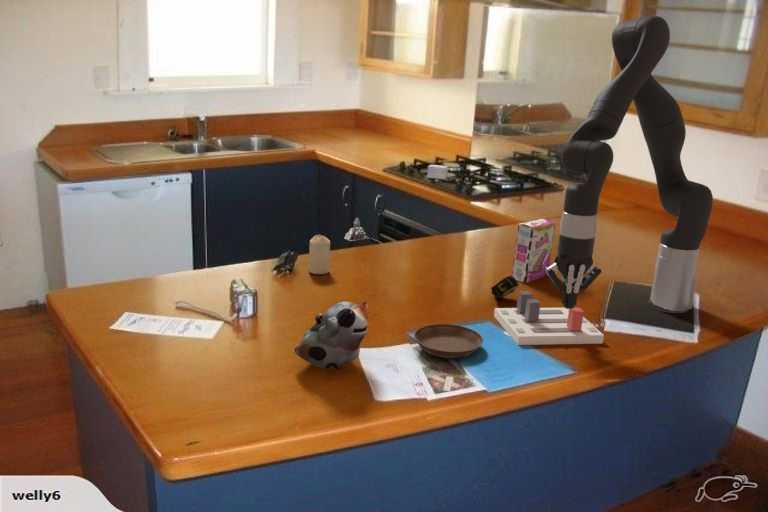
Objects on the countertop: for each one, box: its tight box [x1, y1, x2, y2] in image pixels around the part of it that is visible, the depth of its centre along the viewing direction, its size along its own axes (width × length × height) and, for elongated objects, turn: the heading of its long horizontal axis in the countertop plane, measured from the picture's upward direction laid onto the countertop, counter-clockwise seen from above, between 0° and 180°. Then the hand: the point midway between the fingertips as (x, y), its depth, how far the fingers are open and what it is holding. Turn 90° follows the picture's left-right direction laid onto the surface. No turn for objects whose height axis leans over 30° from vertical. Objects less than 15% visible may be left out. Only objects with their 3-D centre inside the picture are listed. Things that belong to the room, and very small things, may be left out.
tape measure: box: [490, 275, 519, 300], centre depth 191 cm, size 7×7×4 cm
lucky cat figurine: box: [294, 300, 370, 371], centre depth 152 cm, size 15×12×14 cm
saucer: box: [413, 323, 484, 359], centre depth 163 cm, size 15×15×3 cm
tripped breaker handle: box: [567, 307, 584, 330], centre depth 170 cm, size 2×2×4 cm
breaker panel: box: [493, 290, 605, 346], centre depth 175 cm, size 20×17×7 cm
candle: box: [308, 234, 331, 275], centre depth 205 cm, size 6×6×10 cm
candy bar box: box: [511, 218, 556, 284], centre depth 208 cm, size 11×5×16 cm, turn 135°
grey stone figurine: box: [343, 217, 369, 242], centre depth 239 cm, size 9×9×8 cm
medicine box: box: [427, 164, 449, 180], centre depth 324 cm, size 8×4×9 cm, turn 74°
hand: (568, 307), depth 169 cm, fingers closed
